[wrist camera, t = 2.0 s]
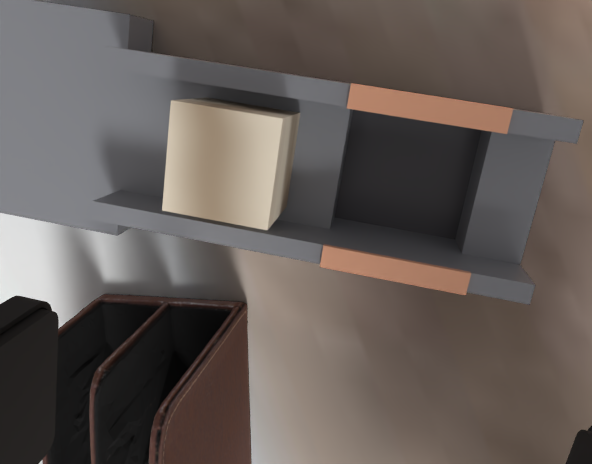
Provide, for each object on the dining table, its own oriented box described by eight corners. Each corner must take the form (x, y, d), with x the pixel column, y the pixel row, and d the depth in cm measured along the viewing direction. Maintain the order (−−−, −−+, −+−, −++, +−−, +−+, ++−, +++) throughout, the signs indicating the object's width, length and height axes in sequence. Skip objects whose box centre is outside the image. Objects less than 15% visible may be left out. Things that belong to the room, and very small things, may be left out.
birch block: (300, 112, 28) (282, 118, 23) (286, 206, 29) (267, 230, 25) (207, 97, 28) (170, 99, 24) (197, 190, 30) (162, 210, 25)
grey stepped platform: (553, 80, 28) (598, 79, 22) (495, 291, 32) (521, 339, 26) (-40, -8, 32) (-137, -29, 26) (-34, 189, 36) (-120, 210, 30)
